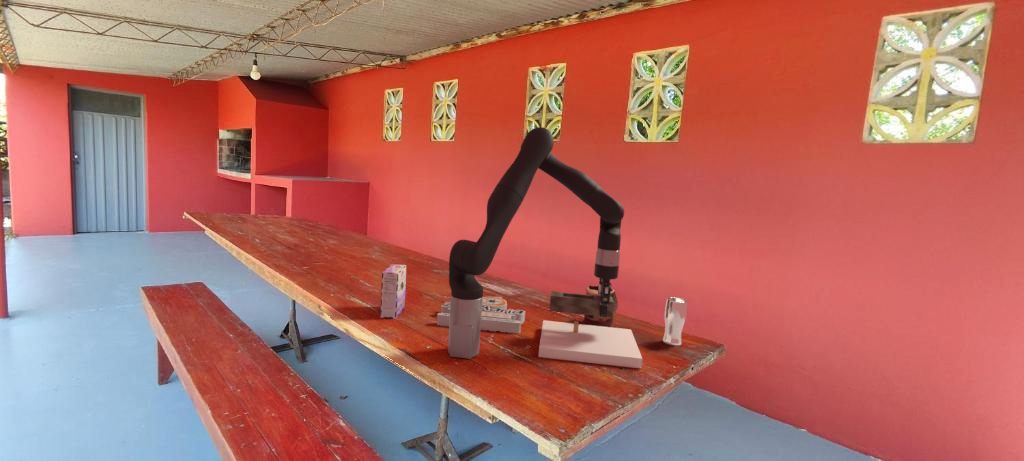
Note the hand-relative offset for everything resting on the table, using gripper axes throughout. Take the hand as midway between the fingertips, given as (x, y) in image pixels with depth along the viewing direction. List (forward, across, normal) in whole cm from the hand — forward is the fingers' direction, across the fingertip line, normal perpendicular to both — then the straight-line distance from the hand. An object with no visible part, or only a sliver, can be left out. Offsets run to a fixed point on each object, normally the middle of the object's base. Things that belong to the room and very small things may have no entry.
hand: (602, 313), depth 160 cm
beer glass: (+11, +8, -25) cm, 29 cm away
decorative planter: (+11, +20, -1) cm, 22 cm away
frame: (0, 0, +7) cm, 7 cm away
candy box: (+10, +9, +73) cm, 74 cm away
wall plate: (+10, -4, +4) cm, 12 cm away
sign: (+11, +16, +41) cm, 45 cm away
